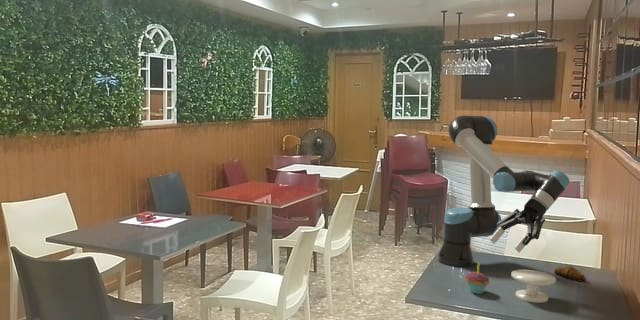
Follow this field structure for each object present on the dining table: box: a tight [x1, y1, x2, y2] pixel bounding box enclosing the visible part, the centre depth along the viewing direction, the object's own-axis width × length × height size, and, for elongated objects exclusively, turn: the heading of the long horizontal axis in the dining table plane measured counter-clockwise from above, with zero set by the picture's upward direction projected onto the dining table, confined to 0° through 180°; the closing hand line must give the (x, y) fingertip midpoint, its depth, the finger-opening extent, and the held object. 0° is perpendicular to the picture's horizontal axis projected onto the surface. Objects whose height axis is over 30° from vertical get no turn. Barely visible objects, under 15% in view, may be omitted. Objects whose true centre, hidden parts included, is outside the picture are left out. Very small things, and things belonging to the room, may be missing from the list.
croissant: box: [553, 265, 587, 282], centre depth 224 cm, size 14×7×5 cm, turn 33°
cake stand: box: [511, 269, 557, 304], centre depth 197 cm, size 15×15×8 cm
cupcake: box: [464, 262, 490, 295], centre depth 201 cm, size 9×8×12 cm
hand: (503, 245), depth 203 cm, fingers open, 13 cm apart
